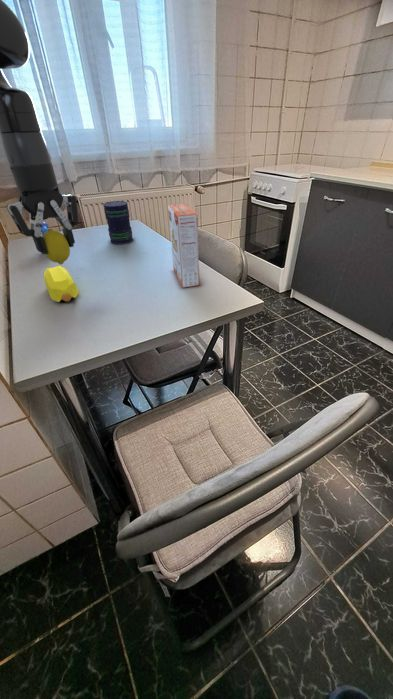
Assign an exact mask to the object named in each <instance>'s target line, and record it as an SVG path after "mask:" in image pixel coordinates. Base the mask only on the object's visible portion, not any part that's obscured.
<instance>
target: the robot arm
mask: <svg viewBox="0 0 393 699" xmlns="http://www.w3.org/2000/svg"><path fill="white" fill-rule="evenodd" d="M30 55H31V47H30V41H29V38H28V35H27V33H26V30H25V28H24V26H23V24H22V22H21V21H20V20H19V18H18V17H17V15H16V14H15V13H14V11H13V10H12V9H11V7H9V5H8V4H6V2H4V0H0V140H1V145H2V148H3V151H4V154H5V157H6V160H7V164H8V166H9V169H10V172H11V174H12V177H13V180H14V183H15V186H16V189H17V191H18V194H19V198H18V199H19V201H17V202H15V203H12V204H11V203H7V204H6V206H5V208H6V210H7V212H8V214H9V216H10V218H11V219H12V220H13V222H14V224H15V226H16V227H17V230H18V231H19V233H20V234H21V235H23V236H26V237H32V240H33V243H34V246H35V249H36V250H37V251H38V252H39V253H41V254H42V255H45V254H48V252H47V249H46V246H45V243H44V240H43V237H41V236H42V232H41V226H42V223H43V221H45V220H48V219H50V218H51V219H55V220H56V221H57V222H58V224H59V225H60V227H62V229H61V231H62V234H63V235H64V236H65V238H66V240H67V242H68V244H69V248H73V247H74V246H75V243H76V240H75V237H74V233H73V228H74V227H75V226H78V225H79V215H78V214H79V213H78V203H77V197H76V195H73V194H68V193H67V194H62V193H61V191H60V190H59V184H58V180H57V177H56V174H55V170H54V166H53V163H52V156H51V154H50V151H49V148H48V144H47V142H46V140H45V138H44V134H43V132H42V128H41V124H40V121H39V116H38V114H37V109H36V106H35V103H34V100H33V98H32V96H31V94H30V93H29V92H27V91H26V90H23V89H20V88H17V87H13V86H12V85H11V84H10V83H9V80H8V79H7V78H6V76H5V74H4V72H3V70H8V69H11V70H12V69H19V68H22V67H23V66H25V65H26V64H27V63H28V61H29V59H30ZM63 204H64V205H65V206H66V214H65V213H64V212H63V210H62V209H61V208H62V205H63ZM23 209H25V211H27V212H28V214H29V220H28V221H29V227H28V225H27V223H26V221H25V219H24V218H23V213H24V211H23ZM45 256H46V255H45Z"/></svg>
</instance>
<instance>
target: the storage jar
mask: <svg viewBox="0 0 393 699" xmlns="http://www.w3.org/2000/svg"><path fill="white" fill-rule="evenodd" d="M128 204H129V203H128V202H127V201H123V200H114V201H107V202H104V203H103V209H104V214H105V215H104V216H105V219H106V223H107V230H108V236H109V239H110V243H111V244H113V245H125V244H130V243H132V242H133V241H134V238H133V228H132V226H131V221H130V220H131V219H130V217H131V216H130V209H129V206H128Z"/></svg>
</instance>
